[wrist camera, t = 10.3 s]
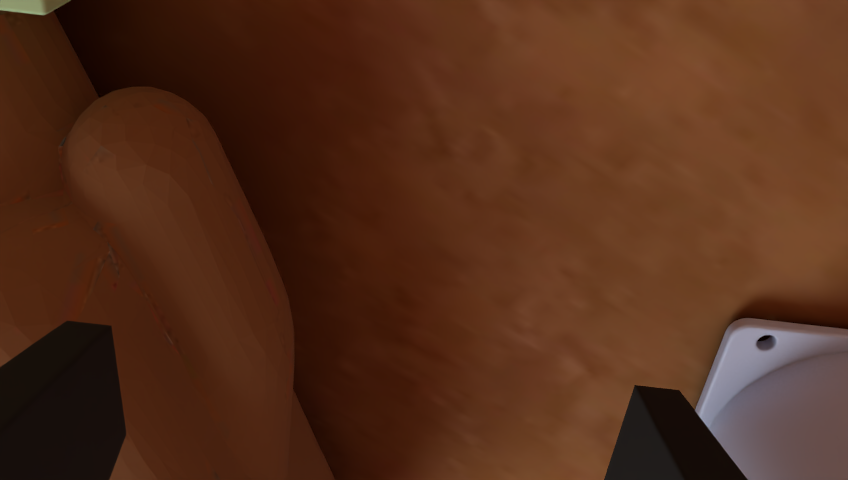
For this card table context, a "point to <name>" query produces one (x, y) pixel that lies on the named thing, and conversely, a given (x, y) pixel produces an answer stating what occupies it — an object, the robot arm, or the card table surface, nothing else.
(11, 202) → the toy
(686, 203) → the card table surface
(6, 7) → the felt cube
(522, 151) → the card table surface
